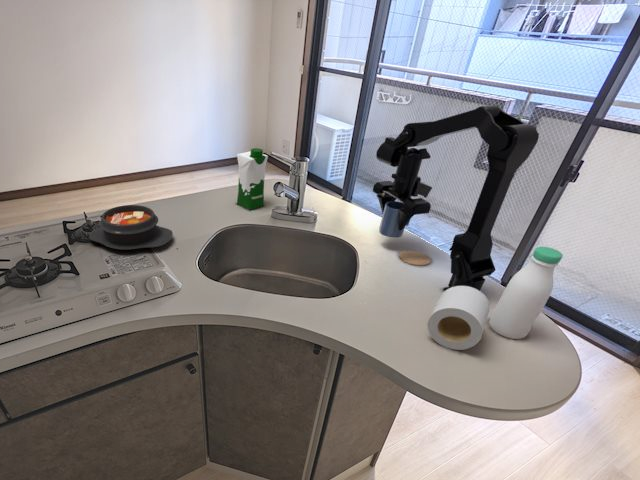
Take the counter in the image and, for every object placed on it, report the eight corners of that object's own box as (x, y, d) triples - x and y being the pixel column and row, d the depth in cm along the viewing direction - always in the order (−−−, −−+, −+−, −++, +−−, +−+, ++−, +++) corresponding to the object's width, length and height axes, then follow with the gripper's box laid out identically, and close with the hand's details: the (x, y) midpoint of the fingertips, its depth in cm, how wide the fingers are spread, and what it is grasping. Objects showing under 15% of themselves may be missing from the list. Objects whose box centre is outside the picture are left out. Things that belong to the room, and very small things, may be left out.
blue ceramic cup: (387, 239, 114) (395, 211, 109) (374, 229, 119) (380, 202, 114) (413, 235, 116) (422, 208, 112) (399, 225, 122) (407, 199, 117)
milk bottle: (524, 345, 85) (572, 265, 73) (485, 330, 89) (524, 252, 77) (528, 327, 90) (574, 249, 78) (491, 314, 94) (529, 238, 82)
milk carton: (249, 211, 139) (251, 153, 127) (233, 203, 145) (233, 147, 133) (267, 206, 144) (271, 149, 132) (251, 198, 149) (253, 143, 137)
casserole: (78, 250, 114) (71, 223, 109) (106, 223, 128) (101, 199, 124) (161, 259, 111) (158, 232, 106) (180, 230, 126) (178, 205, 121)
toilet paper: (432, 315, 93) (447, 279, 87) (479, 331, 88) (497, 295, 82) (421, 337, 86) (436, 301, 80) (471, 357, 82) (490, 319, 76)
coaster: (436, 263, 113) (437, 262, 112) (411, 267, 110) (412, 266, 110) (417, 249, 119) (417, 248, 119) (393, 253, 117) (393, 252, 117)
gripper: (456, 180, 102) (437, 235, 111) (410, 160, 116) (396, 209, 125) (420, 184, 99) (403, 240, 108) (377, 162, 113) (366, 213, 122)
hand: (392, 224), depth 116 cm, fingers closed on blue ceramic cup, 7 cm apart
